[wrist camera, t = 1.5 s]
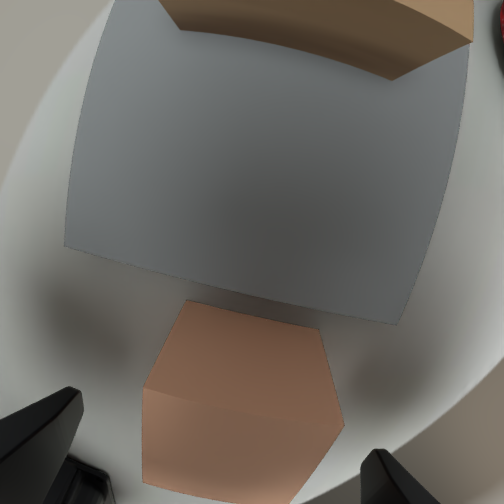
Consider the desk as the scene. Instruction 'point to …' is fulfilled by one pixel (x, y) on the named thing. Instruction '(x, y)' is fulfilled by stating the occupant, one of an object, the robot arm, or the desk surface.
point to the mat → (261, 165)
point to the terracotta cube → (237, 408)
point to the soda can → (502, 20)
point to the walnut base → (340, 28)
